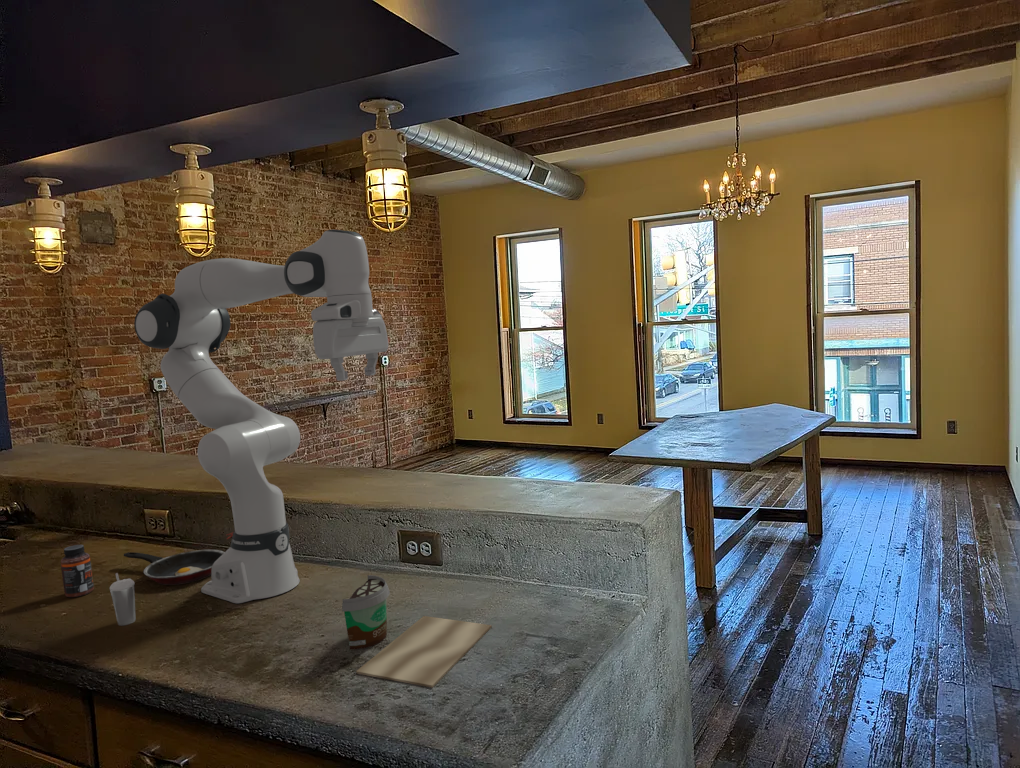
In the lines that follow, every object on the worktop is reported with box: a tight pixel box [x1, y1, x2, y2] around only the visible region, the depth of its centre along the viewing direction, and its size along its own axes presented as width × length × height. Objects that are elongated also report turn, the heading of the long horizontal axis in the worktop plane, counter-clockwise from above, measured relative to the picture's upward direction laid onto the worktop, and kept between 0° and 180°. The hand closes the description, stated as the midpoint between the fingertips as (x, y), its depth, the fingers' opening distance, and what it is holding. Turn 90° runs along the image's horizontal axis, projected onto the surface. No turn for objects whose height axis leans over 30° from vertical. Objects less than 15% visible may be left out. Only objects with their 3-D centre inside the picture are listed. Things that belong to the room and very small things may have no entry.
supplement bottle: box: [60, 544, 95, 598], centre depth 162 cm, size 6×6×11 cm
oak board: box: [355, 615, 493, 689], centre depth 123 cm, size 15×22×1 cm
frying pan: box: [123, 549, 226, 586], centre depth 173 cm, size 19×32×4 cm, turn 65°
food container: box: [341, 574, 390, 651], centre depth 129 cm, size 12×6×10 cm, turn 168°
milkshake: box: [109, 572, 137, 627], centre depth 144 cm, size 4×5×10 cm
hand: (356, 377), depth 141 cm, fingers open, 8 cm apart
